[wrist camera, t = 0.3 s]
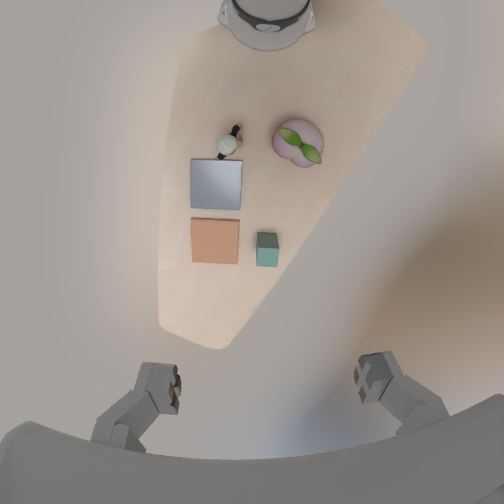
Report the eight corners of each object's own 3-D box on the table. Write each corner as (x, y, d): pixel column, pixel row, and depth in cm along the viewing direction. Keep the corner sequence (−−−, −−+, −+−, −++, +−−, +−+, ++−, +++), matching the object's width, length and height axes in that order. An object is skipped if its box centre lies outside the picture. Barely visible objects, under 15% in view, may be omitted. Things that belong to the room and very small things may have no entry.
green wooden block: (257, 232, 60) (258, 247, 53) (276, 233, 60) (279, 248, 53) (256, 249, 62) (256, 266, 55) (274, 250, 62) (277, 267, 55)
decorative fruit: (325, 134, 51) (340, 138, 42) (305, 168, 54) (315, 179, 45) (284, 110, 49) (290, 108, 40) (263, 145, 52) (266, 151, 43)
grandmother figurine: (236, 161, 53) (231, 173, 42) (217, 155, 53) (207, 165, 41) (248, 125, 50) (247, 126, 39) (229, 119, 49) (222, 118, 38)
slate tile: (191, 159, 53) (190, 159, 52) (242, 160, 53) (241, 161, 52) (191, 206, 57) (190, 208, 57) (239, 208, 58) (239, 210, 57)
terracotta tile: (191, 217, 59) (190, 219, 58) (239, 220, 59) (238, 221, 58) (193, 259, 63) (192, 261, 62) (237, 262, 63) (237, 264, 62)
